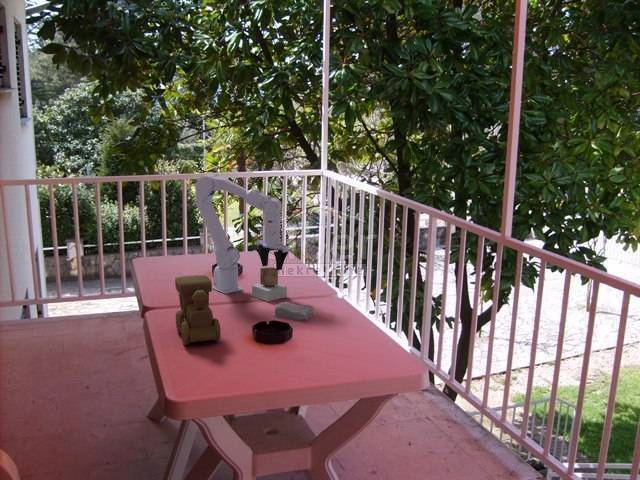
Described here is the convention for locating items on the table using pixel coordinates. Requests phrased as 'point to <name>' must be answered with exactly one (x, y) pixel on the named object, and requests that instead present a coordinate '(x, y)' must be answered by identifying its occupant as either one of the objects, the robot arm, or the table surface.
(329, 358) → the table surface
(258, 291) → the plinth
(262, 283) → the walnut block
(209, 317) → the wooden toy train
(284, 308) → the stone block
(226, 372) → the table surface
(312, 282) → the table surface
